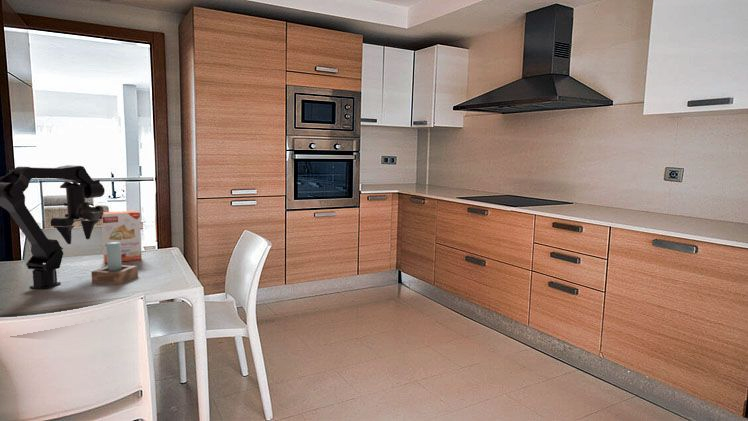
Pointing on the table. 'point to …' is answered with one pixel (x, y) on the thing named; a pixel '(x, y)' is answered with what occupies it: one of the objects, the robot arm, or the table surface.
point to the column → (114, 256)
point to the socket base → (114, 275)
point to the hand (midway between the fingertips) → (78, 241)
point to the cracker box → (122, 233)
